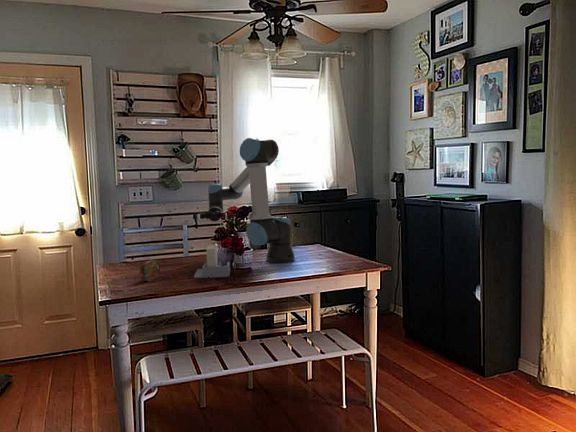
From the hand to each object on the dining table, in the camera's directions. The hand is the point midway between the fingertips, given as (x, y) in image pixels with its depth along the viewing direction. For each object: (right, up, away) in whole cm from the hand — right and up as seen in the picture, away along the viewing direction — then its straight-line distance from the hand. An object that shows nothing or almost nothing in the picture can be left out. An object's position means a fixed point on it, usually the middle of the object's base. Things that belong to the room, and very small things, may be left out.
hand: (212, 217), depth 242 cm
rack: (+1, -27, -7) cm, 28 cm away
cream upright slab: (+1, -26, -7) cm, 27 cm away
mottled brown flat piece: (-26, -28, -15) cm, 41 cm away
